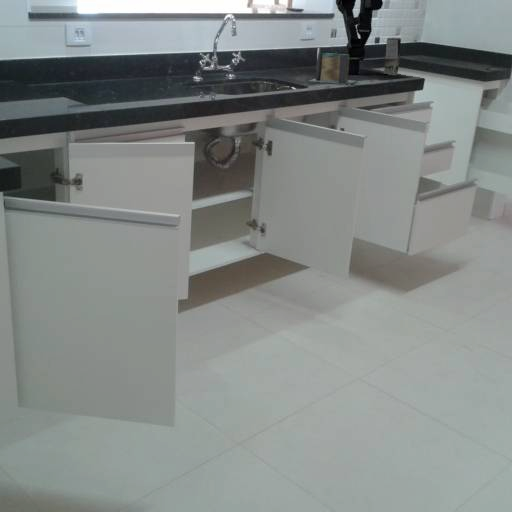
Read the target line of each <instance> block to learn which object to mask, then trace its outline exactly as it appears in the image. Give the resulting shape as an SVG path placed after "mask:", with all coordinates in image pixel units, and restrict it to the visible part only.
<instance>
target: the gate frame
mask: <svg viewBox="0 0 512 512" xmlns="http://www.w3.org/2000/svg"><path fill="white" fill-rule="evenodd" d="M322 53H323V47H317V51H316V70H315V73H316V74H315V78H316V81H320V80H321V68H322ZM348 57H349V55H340V69H339V83H345V84H346V83H347V72H348ZM349 58H350V57H349Z"/></svg>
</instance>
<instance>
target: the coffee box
mask: <svg viewBox="0 0 512 512" xmlns="http://www.w3.org/2000/svg"><path fill="white" fill-rule="evenodd" d="M401 43H402V38H400V37H388V38H387V40H386V46H385V49H386V50H385V56H384V57H385V59H384V60H385V61H384V69H383V70H384V71H383V75H384V74H388V75H387V76H398V73H399V72H398V71H399V64H400V56H401V55H400V54H401V45H402V44H401Z"/></svg>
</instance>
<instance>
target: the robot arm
mask: <svg viewBox="0 0 512 512" xmlns="http://www.w3.org/2000/svg"><path fill="white" fill-rule="evenodd" d="M359 1H360V3H359V4H360V5H359V12H358V15H357V16H354V8H355V5H356V2H357V0H335V5H336V7H337V10H338V12H339V13H341V14H342V16H343V17H342V18H343V22H344V27H345V33H346V38H347V43H346V46H345V49H344V52H343V54H348V55H349V70H348V75H350V76H351V75H362V72H360V64H361V63H360V61H364V59H365V56H366V55H365V54H366V48H365V47H366V44H367V43H368V40H369V38H370V36H371V34H372V31H373V28H372V24H373V23H372V21H373V15H374V14H373V12H374V11H379V10H381V9H382V8H383V5H384V2H383V1H384V0H359Z"/></svg>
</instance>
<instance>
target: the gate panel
mask: <svg viewBox="0 0 512 512" xmlns="http://www.w3.org/2000/svg"><path fill="white" fill-rule="evenodd" d="M340 55H348V54H344V53H329V52H322V61H321V80H332V81H339V69H340ZM349 58H350V57H348V70H349ZM348 80H349V74H348V72H347V81H348Z"/></svg>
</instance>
